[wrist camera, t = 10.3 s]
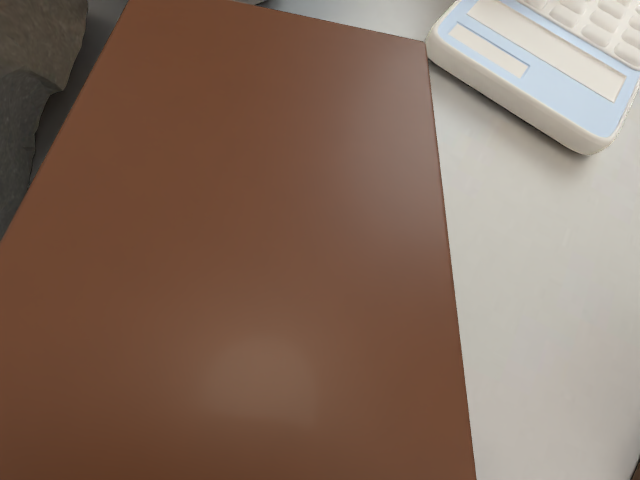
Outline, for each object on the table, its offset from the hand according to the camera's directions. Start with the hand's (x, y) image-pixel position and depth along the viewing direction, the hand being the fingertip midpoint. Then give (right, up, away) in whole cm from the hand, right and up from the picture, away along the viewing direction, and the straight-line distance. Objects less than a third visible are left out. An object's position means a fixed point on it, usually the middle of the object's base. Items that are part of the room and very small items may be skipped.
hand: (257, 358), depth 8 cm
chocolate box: (-1, -1, +4) cm, 5 cm away
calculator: (+19, +19, +15) cm, 31 cm away
